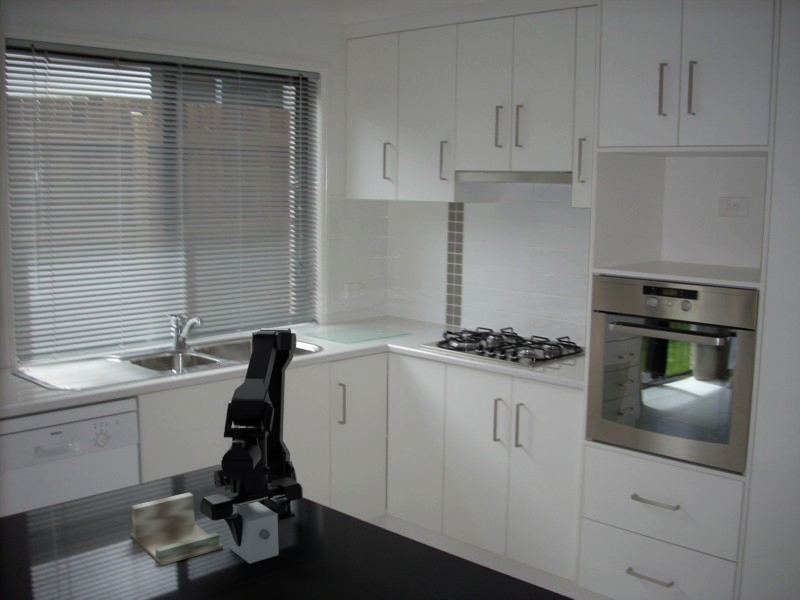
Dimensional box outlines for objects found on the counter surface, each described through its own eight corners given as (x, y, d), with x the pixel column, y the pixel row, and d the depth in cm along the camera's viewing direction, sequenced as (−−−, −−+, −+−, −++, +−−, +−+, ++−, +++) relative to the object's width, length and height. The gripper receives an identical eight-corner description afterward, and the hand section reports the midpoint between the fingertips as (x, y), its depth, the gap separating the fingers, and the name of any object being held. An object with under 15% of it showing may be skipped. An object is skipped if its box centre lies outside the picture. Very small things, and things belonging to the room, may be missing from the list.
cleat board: (188, 521, 175) (187, 490, 174) (222, 548, 163) (221, 515, 162) (130, 536, 168) (129, 504, 167) (162, 565, 155) (160, 530, 154)
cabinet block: (258, 540, 166) (257, 501, 165) (281, 556, 159) (280, 515, 158) (229, 548, 162) (228, 508, 161) (252, 565, 155) (250, 523, 154)
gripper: (274, 441, 170) (276, 516, 173) (186, 460, 159) (189, 540, 161) (303, 455, 162) (305, 534, 164) (211, 476, 151) (214, 560, 153)
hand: (253, 541), depth 161 cm, fingers closed on cabinet block, 6 cm apart
